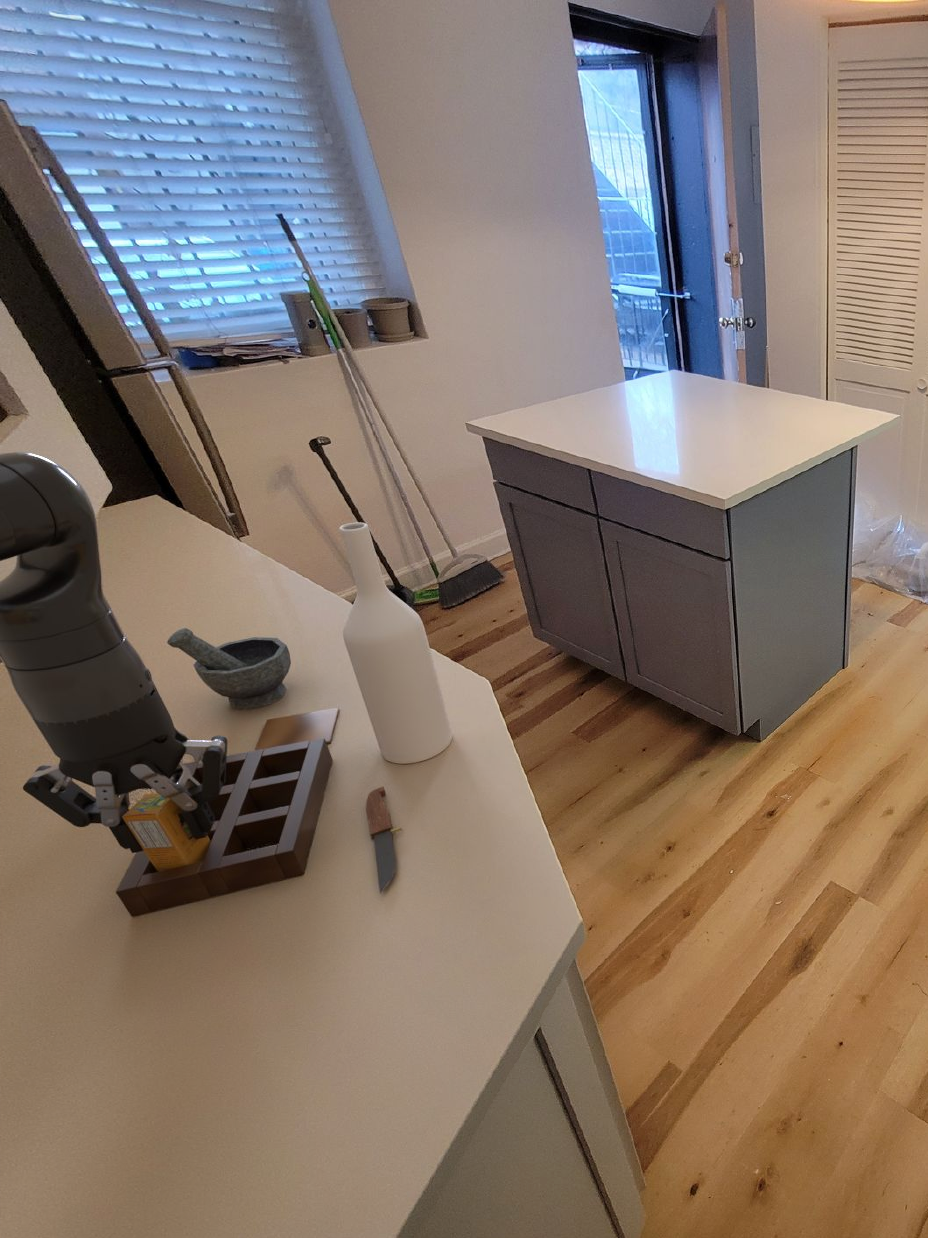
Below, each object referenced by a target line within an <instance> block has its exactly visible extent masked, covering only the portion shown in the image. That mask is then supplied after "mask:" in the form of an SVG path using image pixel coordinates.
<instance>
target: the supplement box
mask: <svg viewBox="0 0 928 1238" xmlns="http://www.w3.org/2000/svg"><path fill="white" fill-rule="evenodd" d="M181 812H182V809H181V808H180V807H179V806H178V805H177V804H176V803H174V802H173V801H172V800H171V799H170V798H163V797H162V796H161V795H160V794H159V793H157V792H151V793H148V792H147V793H145V794H144V795H143V796H142V797H141V798H140V799H139V800H137V802H136V803H134V804H133V805H132V806H131V807H130V808H129V810H128V811H127V812H126V813H125V814H124V815H123V816H122V818H123V820H124V821H125V823H126V824H127V826H128V827H129V829H130V830H131V832H132V833H133V835H134V836H135V838H136V839H137V841H138V843H139V844H140V846H141V847H142V849H143V850H144V852H145V853H146V855H147V856H148V858H149V859H150V861H151V862H152V864H153V865H154V867H155V868H156V870H157V871H158V872H160V871H164V870H168V869H173V868H177V867H181V866H186V865H190V864H194V863H199V862H203V860H204V857H205V855H206V853H207V850H208V848H209V845H210V843H211V841H210V839H209V837H208V836H206V837H205V838H201V839H195V838H194V836H193V835H192V833H191V831H190V829H189V827H188V825H187V824H186V822H185V820H184V818H183V816H182V814H181Z"/></svg>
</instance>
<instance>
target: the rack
mask: <svg viewBox="0 0 928 1238" xmlns="http://www.w3.org/2000/svg"><path fill="white" fill-rule="evenodd" d="M333 761H334V759H333V757H332V754H331V752H330V748H329V746H328V744H327V743H326V741H325V738H322V739H316V740H311V741H305V742H299V743H294V744H289V745H283V746H278V747H272V748H267V749H261V750H256V751H254V750H251V751H246V752H241V753H234V754H230V755H227V758H226V777H225V783H224V785H223V786H222V788H221V791H220V794H219V797H218V798H217V799H216V800H215V801H207V802H208V804H209V806H210V808H211V810H212V812H213V814H214V816H215V821H214V824H213V826H212V828H211V831H209V832H208V834H207V836H208V837H209V839H210V841H211V843H210V845H209V848H208V850H207V853H206V855H205V857H204V860H203V862H199V863H194V864H190V865H186V866H181V867H177V868H173V869H168V870H164V871H160V872H158V871H157V870H156V868H155V867H154V865H153V864H152V862H151V861H150V859H149V858H148V856H147V855H146V853H145V852H144V851H141V852H136V853H134V854H135V855H134V856H133V858H132V860H131V862H130V863H129V865H128V867H127V869H126V871H125V873H124V875H123V877H122V878H121V881H120V882H119V884H118V886H117V888H116V890H115V894H116V895H117V897H118V898H119V900H120V901H121V902H122V905H123V906H124V907H125V910H126V911H127V912H128V914H129V915H130V917H131V918H134V917H137V916H142V915H147V914H149V913H154V912H159V911H162V910H167V909H170V908H174V907H178V906H182V905H186V904H190V903H195V902H198V901H199V902H200V901H202V900H206V899H210V898H215V897H219V896H223V895H227V894H231V893H235V892H239V891H245V890H248V889H252V888H256V887H260V886H263V885H267V884H272V883H275V882H276V883H277V882H280V881H284V880H286V879H291V878H295V877H300V876H303V875H305V872H306V868H307V863H308V860H309V856H310V851H311V848H312V843H313V840H314V836H315V832H316V828H317V824H318V820H319V817H320V813H321V808H322V805H323V801H324V796H325V792H326V789H327V784H328V781H329V780H328V779H329V776H330V773H331V770H332V765H333ZM183 764H184V765H186V766H187V767H188V768H189V769H190V771H191V775H192V777H193V778H194V779H195V780H196V781H198V782H199V783H200V784H202V777H203V765H202V766H198V765H197V763H196V762H195V761H190V762H185V763H183ZM277 843H278V844H277ZM256 848H257V849H256ZM246 850H247V851H246Z"/></svg>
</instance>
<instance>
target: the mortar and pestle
mask: <svg viewBox="0 0 928 1238" xmlns="http://www.w3.org/2000/svg"><path fill="white" fill-rule="evenodd" d="M166 643H167V644H168V645H169V646H170V647H172V648H176V649H179V650H181V652H184V653H185V654H186V655H188V656H189V657H190V658H192V659H194V660H195V662H194V663H193V667H194V669H195V671H196V674H197V675H198V676H199V678H200V679H201V680H202V682H203V683H204V684H205V685H206V686H207V687H208V688H209V689H210V690H212V691H213V692H215V693H216V694H218V695H220V696H221V697H224V698H228V701H229V704H230V705H231V706H232V707H233V708H234V709H236V710H253V709H258V708H261V707H266V706H269V705H271V704H273V703H275V702H276V701H279V700H280V699H282V698H283V697H284V696H285V694H286V692H287V688H286V686H285V684H284V683H283V681H284V680H285V679H286V677H287V675H288V674H289V672H290V671H289V670H290V668H291V664H292V661H291V659H292V658H291V653H290V650H289V648H288V646H287V644H286V643H285V642H284V641H282V640H281V639H279V638H278V637H262V636H261V637H260V636H259V637H258V636H254V637H253V636H252V637H249V638H243V639H238V640H234V641H229V642H226V643H223V644H221V645H218V646H214V645H213V644H211V643H209V642H207V641H206V640H204V639H202V638H201V637H198V636H196V635H195V634H194V633H193V631H192V630H191V629H189V628H188V627H182V628H180V629H178V630H176V631H175V632H173V633H172V634H171V635H170V636H169V638H168V639H167V642H166Z"/></svg>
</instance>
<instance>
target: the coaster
mask: <svg viewBox="0 0 928 1238" xmlns="http://www.w3.org/2000/svg"><path fill="white" fill-rule="evenodd" d="M339 713H340V707H334V708H328V709H327V708H326V709H322V710H315V711H309V712H304V713H298V714H297V713H296V714H292V715H285V716H280V717H275V718H274V717H273V718H269V719H266V721H265V724H264V726H263V729H262V731H261V733H260V736H259V738H258V740H257V743H256V746H255V748H254V750H253V751H256V750H261V749H267V748H272V747H278V746H283V745H289V744H294V743H299V742H305V741H311V740H316V739H322V738H325V741H326V743H327V745H330V744H331V743H332V739H333V735H334V732H335V728H336V724H337V720H338V717H339Z"/></svg>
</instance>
